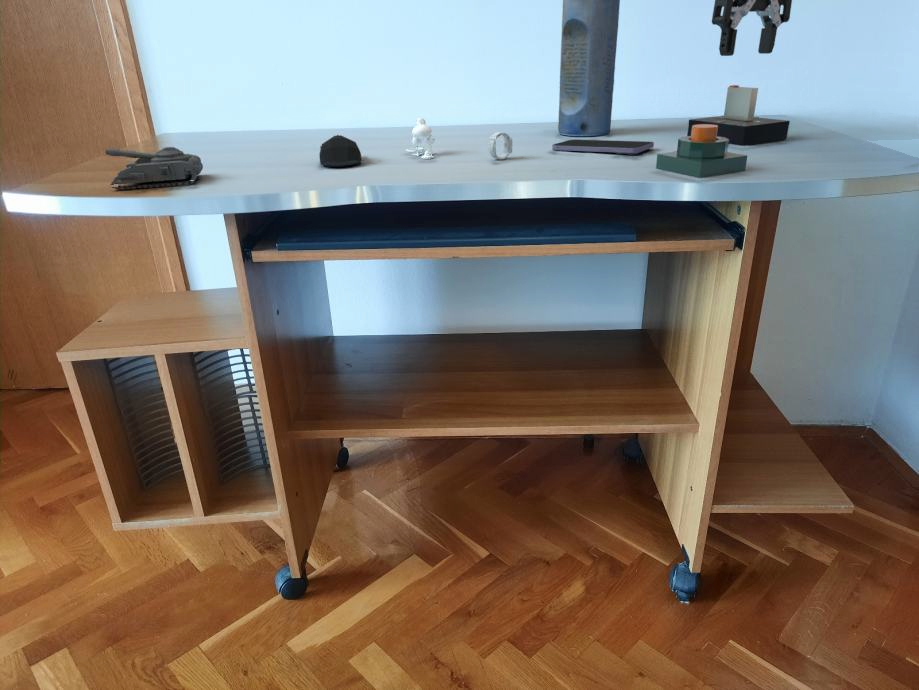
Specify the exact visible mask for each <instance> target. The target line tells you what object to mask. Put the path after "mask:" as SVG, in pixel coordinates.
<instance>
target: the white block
mask: <svg viewBox="0 0 919 690" xmlns="http://www.w3.org/2000/svg"><path fill="white" fill-rule="evenodd" d="M726 90H727V91H726V99H725V104H724V114H723V116H724V119H730V120H739V121H753V119H754V117H755V111H756V106H757V99H758V93H759V88H758V87H748V86H747V87H746V86H740V85H738V84H732V85H729V86H728V87H727V89H726Z"/></svg>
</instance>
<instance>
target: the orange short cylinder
mask: <svg viewBox="0 0 919 690" xmlns="http://www.w3.org/2000/svg"><path fill="white" fill-rule="evenodd" d="M717 132H718V126H717V125H711V124H698V125H693V126H692V131H691V140H693V141H716V139H717Z"/></svg>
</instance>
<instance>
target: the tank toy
mask: <svg viewBox="0 0 919 690" xmlns="http://www.w3.org/2000/svg"><path fill="white" fill-rule="evenodd" d="M105 155H108V157H109V156H110V157H123V158H124V157H125V158H130V159H136V160H135V161H131V162H129V163H128V164H126V166H125V167H126V168H124V169H121V170H120V171H119V172H117V176H115V177H114V179H113V180H112V182H111V183H110V184H109V186H110V185H114V184H118V185H119V186H118V187H111V188H112V189H115V190H117V191H118V190H122V191H123V190H130V189H132V190H134V189H142V188H144V189H148V188H149V189H151V188H160V187H161V188H164V187H171V186H172V187H175V186H178V187H179V186H189V185H192V184H193V183H194V182H195V181H196V179H197V176H199V175H200V174H201V173H202V171H203V169H204V164H203V162H202V159H201V157H200V156H198V155H196V154H190V153H184V151H183V150H180V149H179V148H177V147H175V146H166V147H163V148H162V149H160V150H158V151H157V152H156V153H149V152H141V151H135V150H125V149H124V150H123V149H119V148H113V147H109V148H105ZM188 178H191V180H195V181H190V179H188ZM187 179H188V180H187ZM165 180H166V181H167V182H166V181H165ZM176 180H178V181H176ZM152 181H153V182H152ZM155 182H156V183H155ZM139 183H140V184H139ZM131 184H132V185H131Z"/></svg>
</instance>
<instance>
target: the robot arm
mask: <svg viewBox="0 0 919 690" xmlns="http://www.w3.org/2000/svg"><path fill="white" fill-rule="evenodd" d="M792 2H793V0H714V6H713V10H712V16H711V24H712V25H716V26H718V27H719V28H720V31H721V32H720V38H719V39H720V40H719V47H718V50H719V55H720V56H721V57H732V56H734V54H735V48H736V42H737V35H738V29H736V28H737V27H738V26H739V24H740V23H741V21H742V19H743V18H744V17H747V16H748V14H749V12H750V13H753V12H755V14H756V15H757V17H759V18H760V20H761V23H762V26H763V27H762V28H761V31H760V36H759V43H758V50H757V51H758V54H760V55H761V54H763V55H764V54H765V55H767V54H771V53H772V52H773V50H774V47H775V44H776V43H775V42H776V38H777V31H778V27H780V26H781V25H782V24H783V23H788V22H789V21H790V18H791V12H792V4H793V3H792ZM781 8H782V13H781Z"/></svg>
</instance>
